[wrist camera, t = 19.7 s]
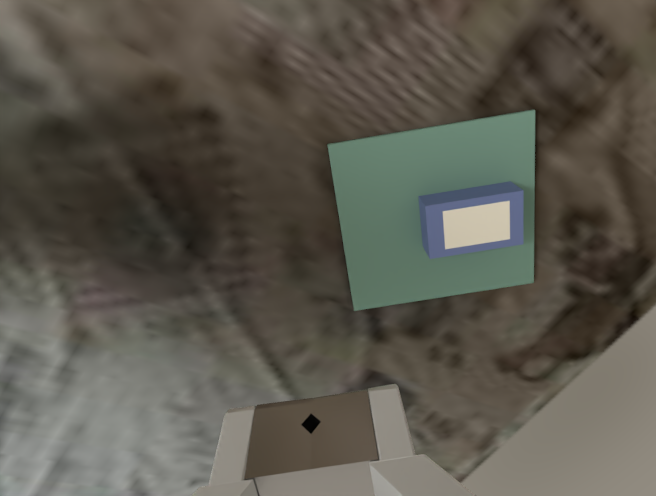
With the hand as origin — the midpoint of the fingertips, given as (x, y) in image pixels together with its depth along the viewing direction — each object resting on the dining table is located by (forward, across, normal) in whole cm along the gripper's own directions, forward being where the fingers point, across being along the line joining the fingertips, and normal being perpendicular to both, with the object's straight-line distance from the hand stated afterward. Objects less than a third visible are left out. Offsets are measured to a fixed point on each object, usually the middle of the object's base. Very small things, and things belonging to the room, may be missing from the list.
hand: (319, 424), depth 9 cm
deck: (+28, -7, +8) cm, 30 cm away
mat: (+29, -8, +8) cm, 31 cm away
